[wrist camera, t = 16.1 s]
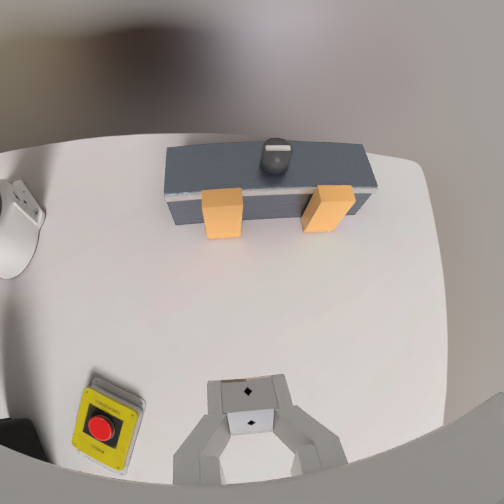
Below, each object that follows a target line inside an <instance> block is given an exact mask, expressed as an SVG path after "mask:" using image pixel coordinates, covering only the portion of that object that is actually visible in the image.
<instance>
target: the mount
mask: <svg viewBox="0 0 504 504" xmlns="http://www.w3.org/2000/svg"><path fill="white" fill-rule="evenodd" d="M264 142H265V141H262V142H232V143H214V144H201V145H189V146H178V147H169V148H167V155H166V168H165V183H164V199H165V201H166V202H167V204H168V206H169V209H170V212H171V214H172V217H173V219H174V222H175V224H176V225H183V224H196V223H205V222H204V217H203V211H202V193H201V190H212V189H227V188H241V189H242V198H243V212H242V220H254V219H271V218H290V217H302V216H303V214H304V212H305V210H306V208H307V206H308V204H309V202H310V200H311V198H312V196H313V194H314V192H315V189H316V187H317V185H351V186H352V189H353V193H354V196H355V200H356V202H355V203H354V204H353V206H352V207H351V208H350V210H349V211H348V212H347V213H346V215H355V214H356V212H357V211H358V210H359V209H360V208H361V206H362V205H363V204H364V203H365V201H366V200H367V199H368V198H369V197H370V195H371V194H372V193H375V192H376V191H377V190H378V188H377V187H378V186H377V183H376V180H375V177H374V174H373V171H372V169H371V166H370V163H369V160H368V158H367V155H366V153H365V150H364V148H363V145H361V144H348V143H331V142H301V141H287V142H288V143H290V145H291V146H292V148H293V154H292V157H291V161H290V164H289V167H288V169H287V170H286V171H285V172H284V173H281V174H271V173H268V172H267V171H265V170H264V169H263V168H262V166H261V164H260V159H261V153H262V147H263V144H264Z"/></svg>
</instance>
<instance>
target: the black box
mask: <svg viewBox="0 0 504 504" xmlns="http://www.w3.org/2000/svg"><path fill="white" fill-rule="evenodd" d="M0 445H2V446H5V447H7V448H9V449H11V450H14V451H16V452H19V453H21V454H24V455H27V456H29V457H32V458H35V459H38V460H41V461H44V462H47V460H46V458H45V455H44V453H43V451H42V448H41V446H40V443H39V441H38V438H37V436H36V433H35V430H34V428H33V425H32V422H31V421H30V420H29V419H26V418H25V419H11V418H5V419H0ZM47 463H48V462H47Z"/></svg>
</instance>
